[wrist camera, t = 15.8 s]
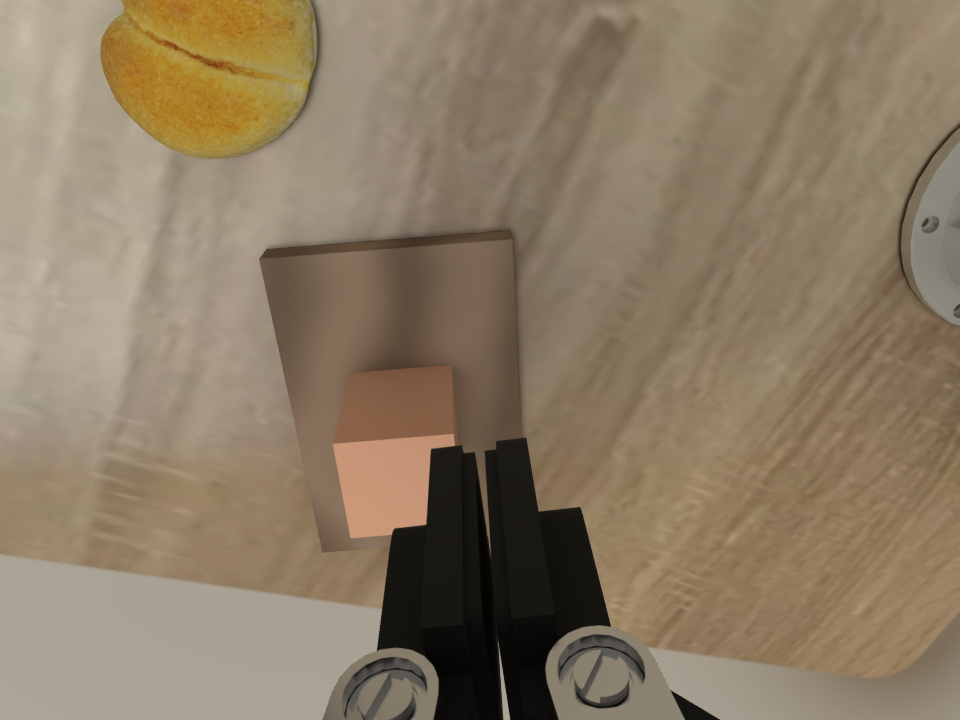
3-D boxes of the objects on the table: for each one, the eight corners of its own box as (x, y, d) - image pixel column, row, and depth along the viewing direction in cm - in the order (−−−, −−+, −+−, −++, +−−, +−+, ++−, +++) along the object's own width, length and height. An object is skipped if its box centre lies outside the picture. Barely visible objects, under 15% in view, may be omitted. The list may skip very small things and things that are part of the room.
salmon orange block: (451, 364, 36) (453, 434, 30) (459, 449, 38) (462, 528, 32) (350, 372, 36) (332, 443, 30) (364, 457, 38) (350, 538, 32)
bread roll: (100, 105, 31) (55, 116, 28) (153, -109, 28) (110, -127, 24) (277, 186, 33) (257, 206, 29) (347, -4, 30) (334, -7, 26)
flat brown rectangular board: (509, 230, 34) (525, 278, 28) (523, 518, 42) (537, 606, 36) (266, 249, 34) (227, 302, 28) (326, 535, 42) (306, 626, 36)
